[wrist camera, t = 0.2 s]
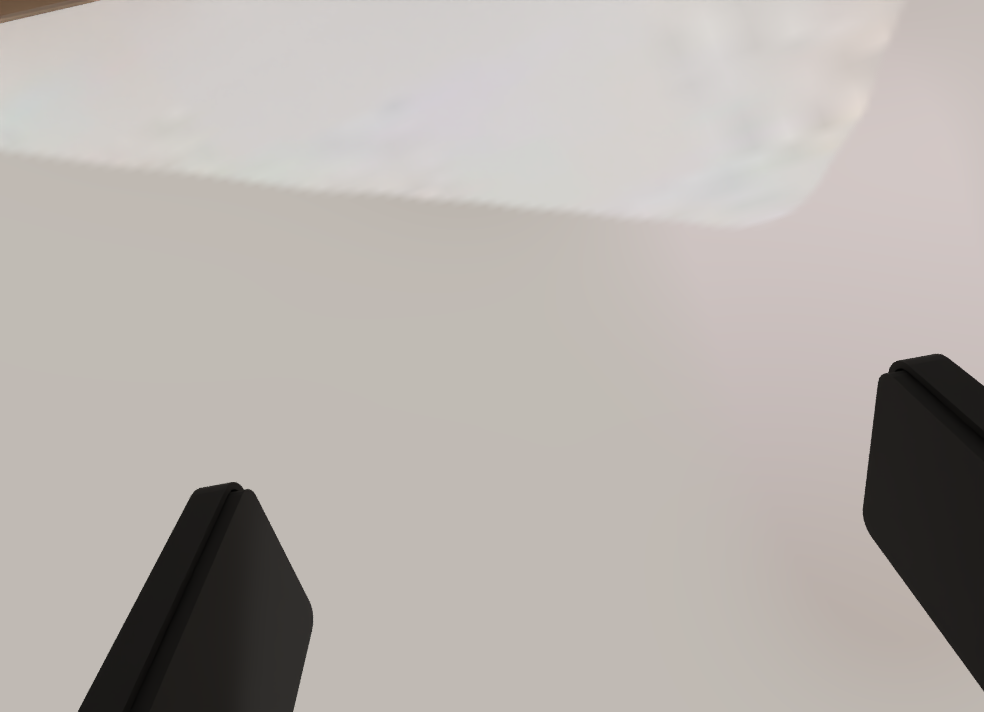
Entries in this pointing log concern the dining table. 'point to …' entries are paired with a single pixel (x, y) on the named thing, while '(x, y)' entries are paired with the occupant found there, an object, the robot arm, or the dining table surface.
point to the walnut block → (33, 7)
